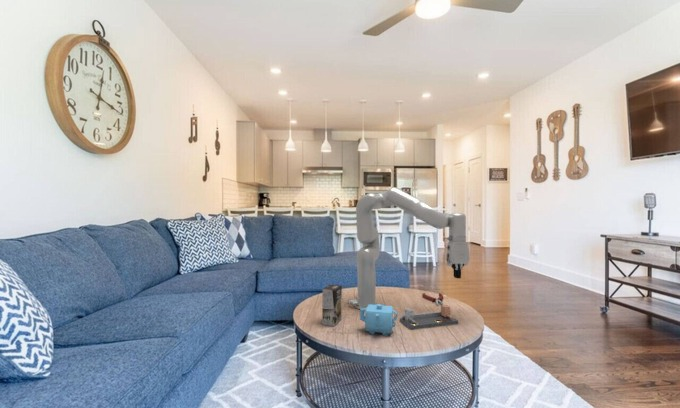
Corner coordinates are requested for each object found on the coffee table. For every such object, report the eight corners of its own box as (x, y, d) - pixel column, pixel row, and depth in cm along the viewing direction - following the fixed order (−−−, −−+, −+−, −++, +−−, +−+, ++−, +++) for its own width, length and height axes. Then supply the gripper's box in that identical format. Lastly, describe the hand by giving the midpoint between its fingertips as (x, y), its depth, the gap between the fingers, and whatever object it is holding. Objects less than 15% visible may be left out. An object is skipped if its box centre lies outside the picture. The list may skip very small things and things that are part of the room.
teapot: (398, 325, 139) (398, 300, 139) (396, 342, 121) (396, 313, 121) (363, 322, 142) (363, 297, 142) (356, 338, 125) (356, 310, 125)
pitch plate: (410, 329, 134) (410, 315, 134) (399, 321, 143) (399, 307, 143) (458, 323, 140) (458, 309, 141) (444, 316, 150) (444, 303, 150)
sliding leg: (448, 319, 141) (448, 309, 141) (440, 314, 147) (440, 305, 147) (454, 318, 142) (454, 308, 142) (446, 314, 148) (446, 304, 148)
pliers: (430, 307, 164) (430, 302, 164) (421, 296, 184) (421, 292, 184) (452, 308, 164) (452, 303, 164) (441, 297, 184) (441, 292, 184)
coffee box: (335, 326, 137) (335, 290, 137) (321, 324, 139) (321, 288, 139) (342, 319, 146) (342, 285, 146) (329, 317, 148) (329, 283, 148)
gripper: (448, 240, 142) (448, 280, 142) (475, 239, 147) (476, 278, 147) (439, 238, 150) (439, 277, 150) (465, 237, 154) (465, 275, 154)
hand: (457, 277), depth 148 cm, fingers closed
